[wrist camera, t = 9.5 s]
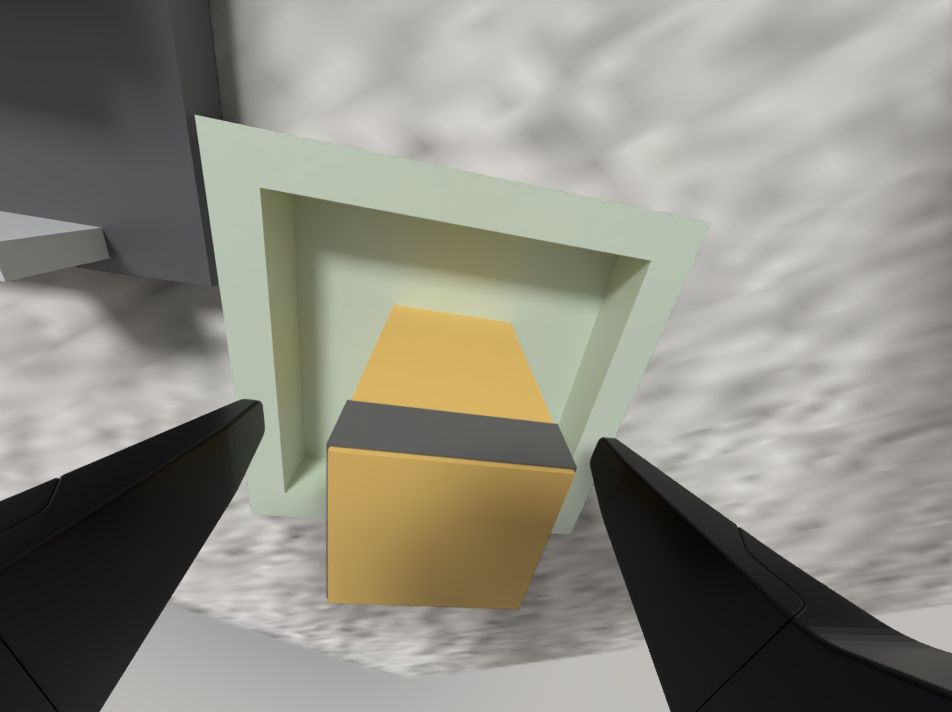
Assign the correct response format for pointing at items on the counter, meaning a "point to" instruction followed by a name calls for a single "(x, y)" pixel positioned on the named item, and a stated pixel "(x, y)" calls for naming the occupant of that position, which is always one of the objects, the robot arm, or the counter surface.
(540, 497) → the block
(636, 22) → the counter surface
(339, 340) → the tray
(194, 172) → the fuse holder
